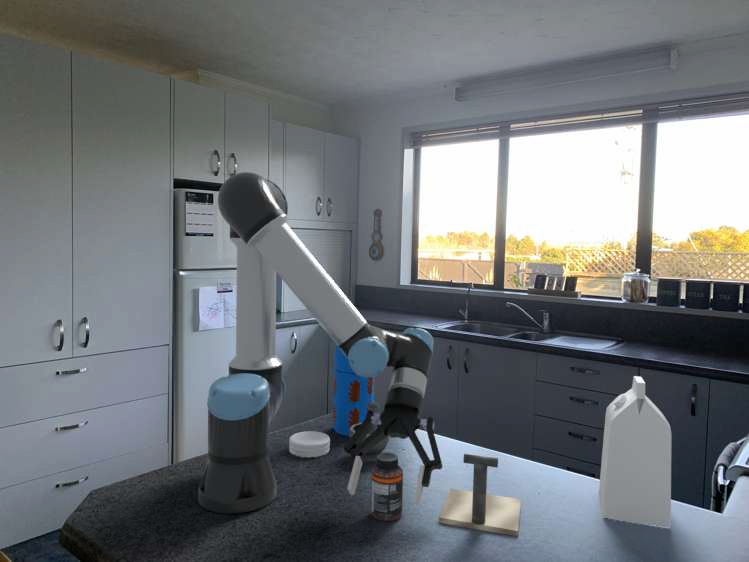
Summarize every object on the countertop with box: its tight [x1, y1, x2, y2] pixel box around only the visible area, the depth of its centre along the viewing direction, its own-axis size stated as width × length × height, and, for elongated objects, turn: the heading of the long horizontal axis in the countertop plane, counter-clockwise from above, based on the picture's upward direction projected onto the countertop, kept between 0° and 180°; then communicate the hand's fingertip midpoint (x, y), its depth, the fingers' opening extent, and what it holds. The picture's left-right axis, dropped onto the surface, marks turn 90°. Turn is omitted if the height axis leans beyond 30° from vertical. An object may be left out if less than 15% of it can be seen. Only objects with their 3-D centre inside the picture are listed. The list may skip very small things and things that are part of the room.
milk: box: [598, 375, 672, 528], centre depth 107 cm, size 12×12×26 cm
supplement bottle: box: [370, 452, 404, 522], centre depth 103 cm, size 6×6×11 cm
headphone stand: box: [438, 453, 522, 537], centre depth 104 cm, size 14×13×13 cm
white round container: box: [288, 430, 331, 459], centre depth 135 cm, size 10×10×4 cm
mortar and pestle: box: [349, 402, 391, 463], centre depth 132 cm, size 11×9×12 cm
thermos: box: [333, 343, 375, 437], centre depth 150 cm, size 11×11×25 cm
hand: (383, 497), depth 101 cm, fingers open, 12 cm apart
